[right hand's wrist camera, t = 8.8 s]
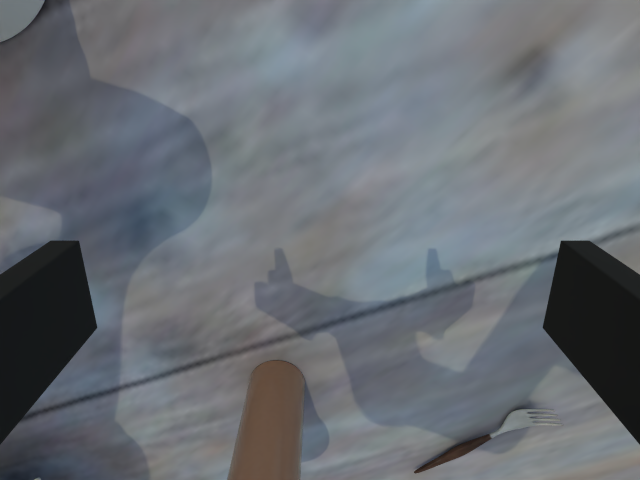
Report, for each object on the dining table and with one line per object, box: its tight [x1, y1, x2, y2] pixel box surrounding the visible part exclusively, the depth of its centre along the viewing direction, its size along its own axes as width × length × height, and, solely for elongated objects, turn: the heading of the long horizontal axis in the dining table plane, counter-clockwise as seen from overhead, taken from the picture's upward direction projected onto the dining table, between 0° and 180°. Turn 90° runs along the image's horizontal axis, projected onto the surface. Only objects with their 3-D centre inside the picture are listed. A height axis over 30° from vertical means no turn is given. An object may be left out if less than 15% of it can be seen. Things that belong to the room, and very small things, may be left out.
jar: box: [227, 360, 305, 480], centre depth 38 cm, size 6×6×17 cm
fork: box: [414, 409, 563, 473], centre depth 47 cm, size 3×16×2 cm, turn 124°
